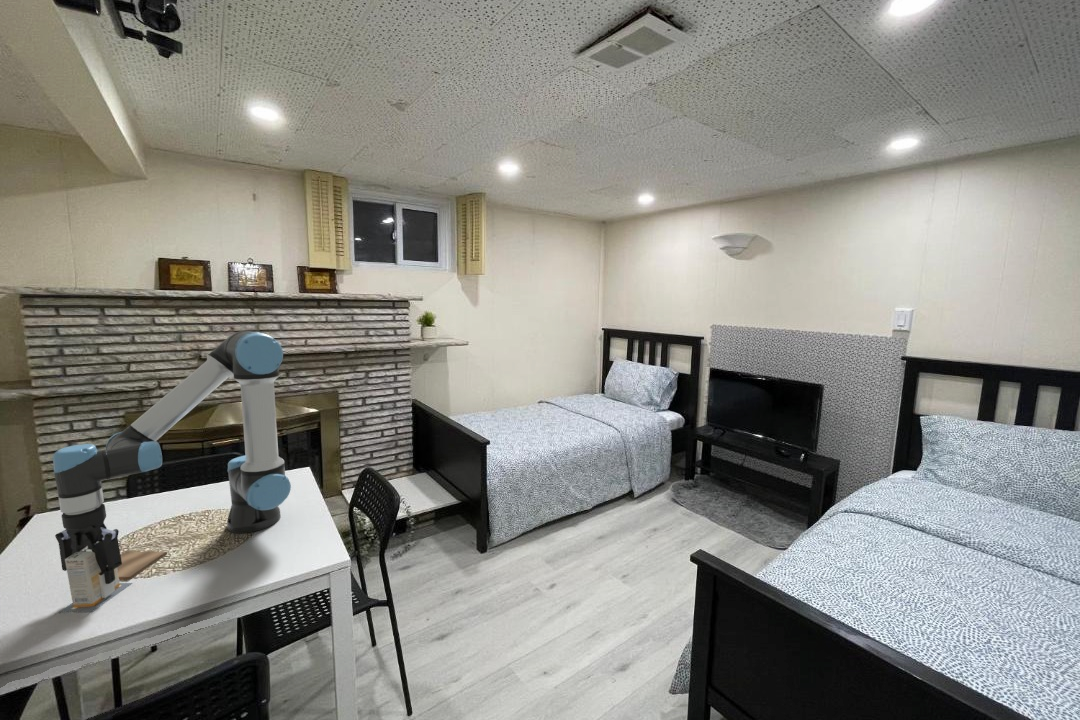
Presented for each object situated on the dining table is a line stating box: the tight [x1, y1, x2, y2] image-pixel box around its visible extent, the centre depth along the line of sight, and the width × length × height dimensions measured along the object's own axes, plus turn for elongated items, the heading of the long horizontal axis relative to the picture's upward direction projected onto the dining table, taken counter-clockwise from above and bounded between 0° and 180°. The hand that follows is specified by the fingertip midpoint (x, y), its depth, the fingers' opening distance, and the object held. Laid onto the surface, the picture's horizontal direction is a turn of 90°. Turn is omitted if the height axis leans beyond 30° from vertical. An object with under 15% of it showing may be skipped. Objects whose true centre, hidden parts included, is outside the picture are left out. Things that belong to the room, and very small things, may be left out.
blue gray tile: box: [58, 582, 133, 613], centre depth 114 cm, size 8×11×1 cm
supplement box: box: [65, 541, 121, 607], centre depth 113 cm, size 8×5×13 cm, turn 5°
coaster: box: [117, 550, 168, 581], centre depth 127 cm, size 12×12×1 cm
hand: (96, 594), depth 114 cm, fingers open, 5 cm apart
